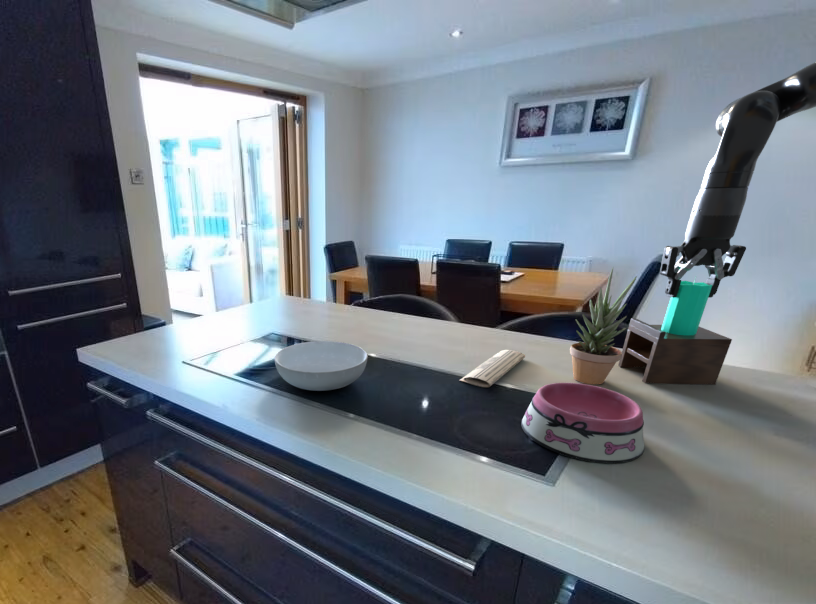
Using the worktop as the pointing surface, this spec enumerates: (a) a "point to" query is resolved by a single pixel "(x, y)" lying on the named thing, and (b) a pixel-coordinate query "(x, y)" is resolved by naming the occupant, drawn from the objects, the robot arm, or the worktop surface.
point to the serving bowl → (321, 364)
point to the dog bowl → (585, 423)
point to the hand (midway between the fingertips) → (689, 296)
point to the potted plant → (598, 340)
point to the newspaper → (493, 368)
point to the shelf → (674, 354)
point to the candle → (686, 308)
